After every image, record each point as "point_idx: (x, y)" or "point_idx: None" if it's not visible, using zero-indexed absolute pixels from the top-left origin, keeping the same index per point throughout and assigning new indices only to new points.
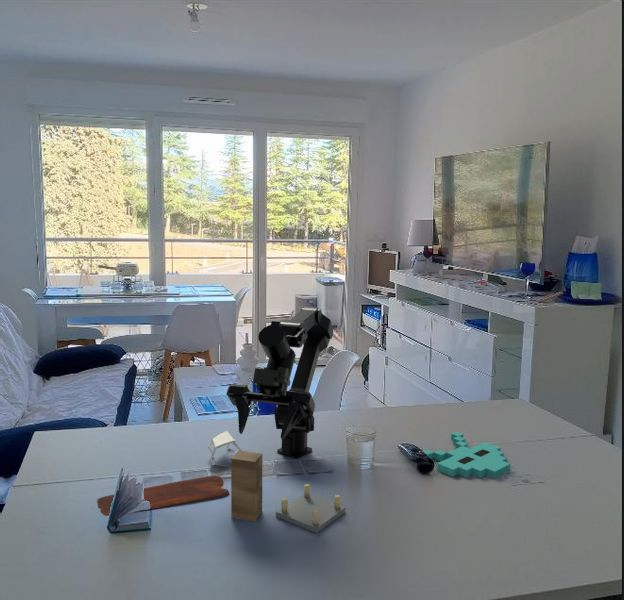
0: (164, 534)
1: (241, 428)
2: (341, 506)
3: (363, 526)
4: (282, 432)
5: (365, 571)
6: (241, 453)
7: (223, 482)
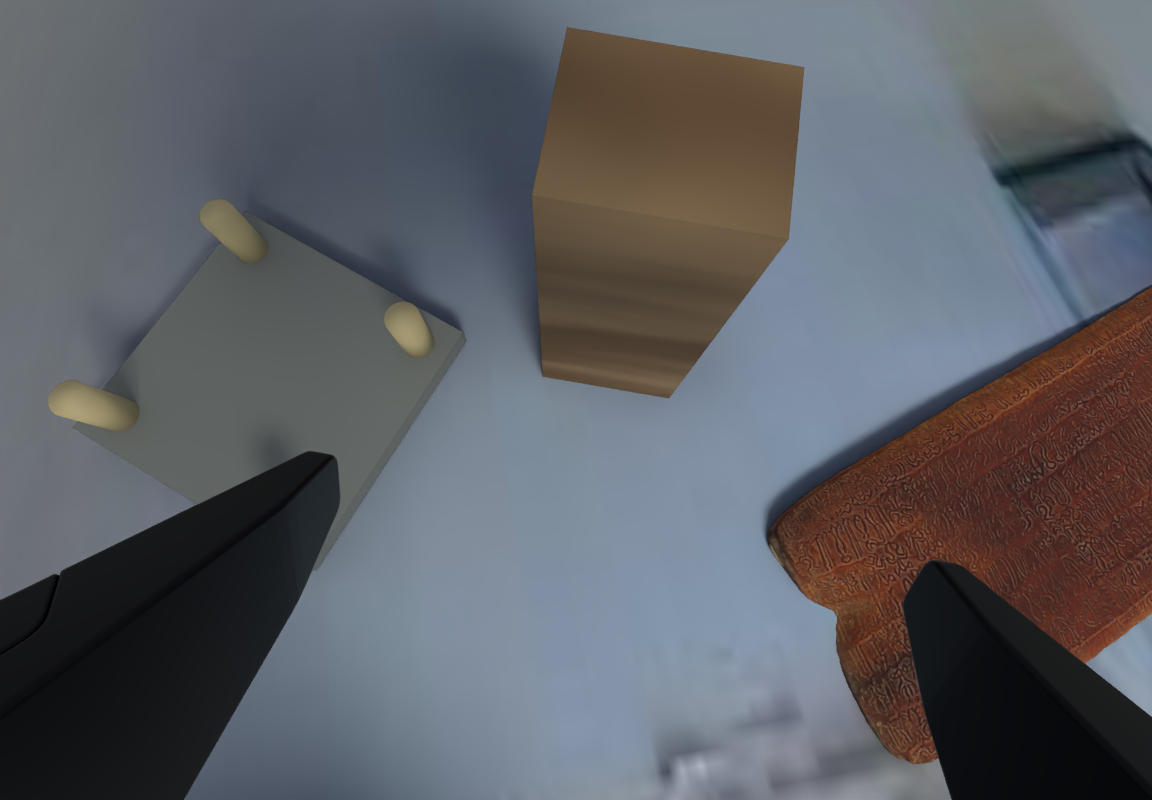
0: (920, 147)
1: (955, 588)
2: (94, 433)
3: (17, 308)
4: (284, 483)
5: (71, 7)
6: (741, 173)
7: (848, 683)
